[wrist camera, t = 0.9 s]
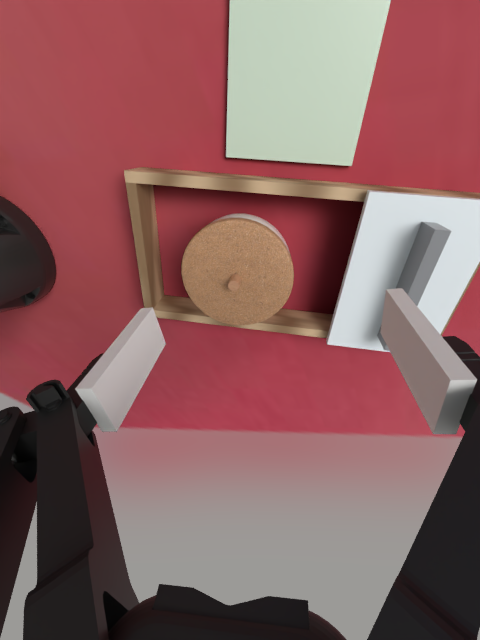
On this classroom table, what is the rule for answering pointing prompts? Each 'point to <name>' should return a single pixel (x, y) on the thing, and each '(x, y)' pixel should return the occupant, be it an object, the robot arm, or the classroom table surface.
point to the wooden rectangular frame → (145, 178)
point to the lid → (406, 262)
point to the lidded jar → (238, 269)
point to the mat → (300, 77)
